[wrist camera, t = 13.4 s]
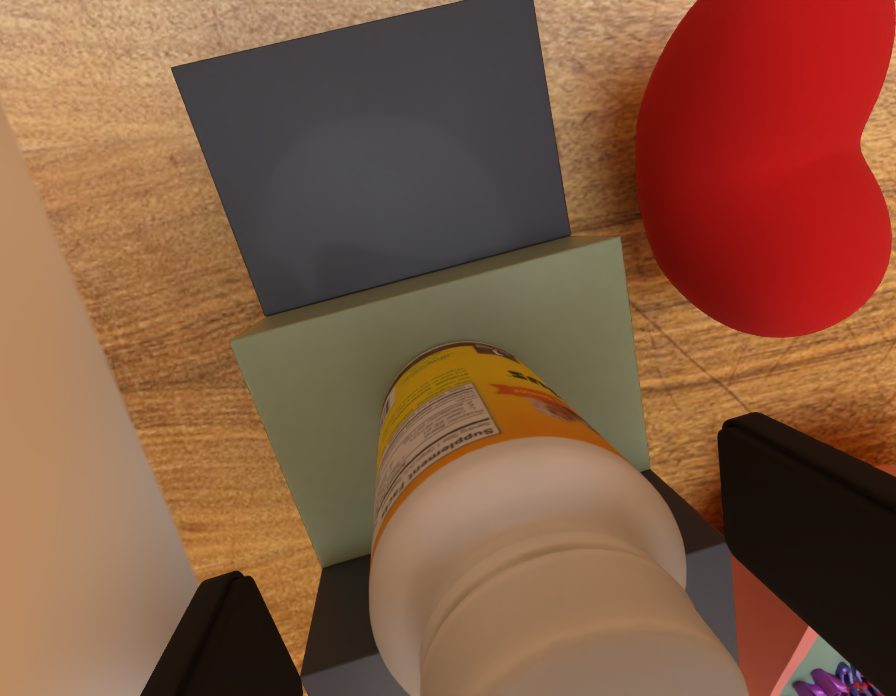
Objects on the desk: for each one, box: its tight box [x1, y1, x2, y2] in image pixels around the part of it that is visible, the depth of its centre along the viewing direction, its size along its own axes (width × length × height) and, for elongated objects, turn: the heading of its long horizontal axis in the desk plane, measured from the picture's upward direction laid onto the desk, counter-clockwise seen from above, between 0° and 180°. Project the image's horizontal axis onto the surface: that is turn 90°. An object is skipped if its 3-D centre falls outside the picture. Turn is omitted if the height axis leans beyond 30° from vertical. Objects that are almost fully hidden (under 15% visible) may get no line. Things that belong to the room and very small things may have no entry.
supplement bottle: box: [369, 341, 749, 696], centre depth 10 cm, size 6×6×10 cm
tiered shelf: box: [171, 0, 739, 696], centre depth 16 cm, size 13×27×11 cm, turn 14°
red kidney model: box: [635, 0, 896, 338], centre depth 16 cm, size 12×5×10 cm, turn 16°
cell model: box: [731, 464, 896, 696], centre depth 22 cm, size 17×20×11 cm
